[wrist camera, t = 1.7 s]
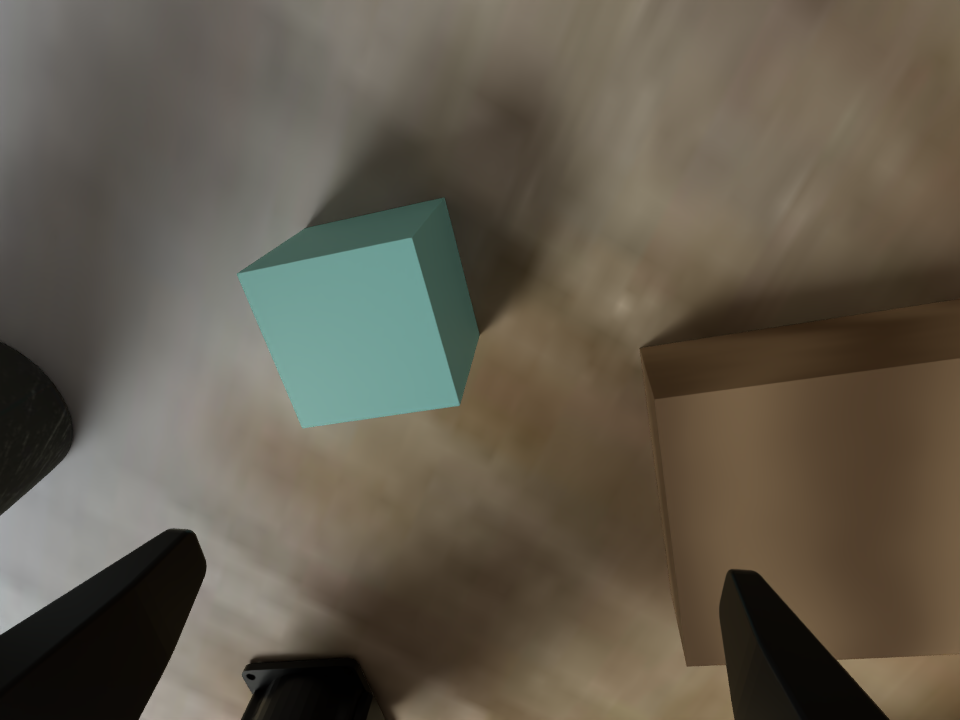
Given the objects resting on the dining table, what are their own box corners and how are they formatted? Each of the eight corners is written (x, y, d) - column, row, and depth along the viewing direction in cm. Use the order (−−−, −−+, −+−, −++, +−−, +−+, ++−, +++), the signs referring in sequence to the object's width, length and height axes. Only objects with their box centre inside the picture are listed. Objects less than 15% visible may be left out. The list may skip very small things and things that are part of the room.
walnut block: (669, 584, 26) (686, 666, 23) (638, 343, 21) (654, 399, 18) (977, 562, 24) (1050, 650, 20) (1023, 283, 19) (1132, 334, 15)
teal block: (352, 355, 22) (302, 428, 18) (306, 227, 20) (236, 274, 16) (480, 334, 21) (459, 405, 17) (444, 197, 19) (411, 237, 15)
